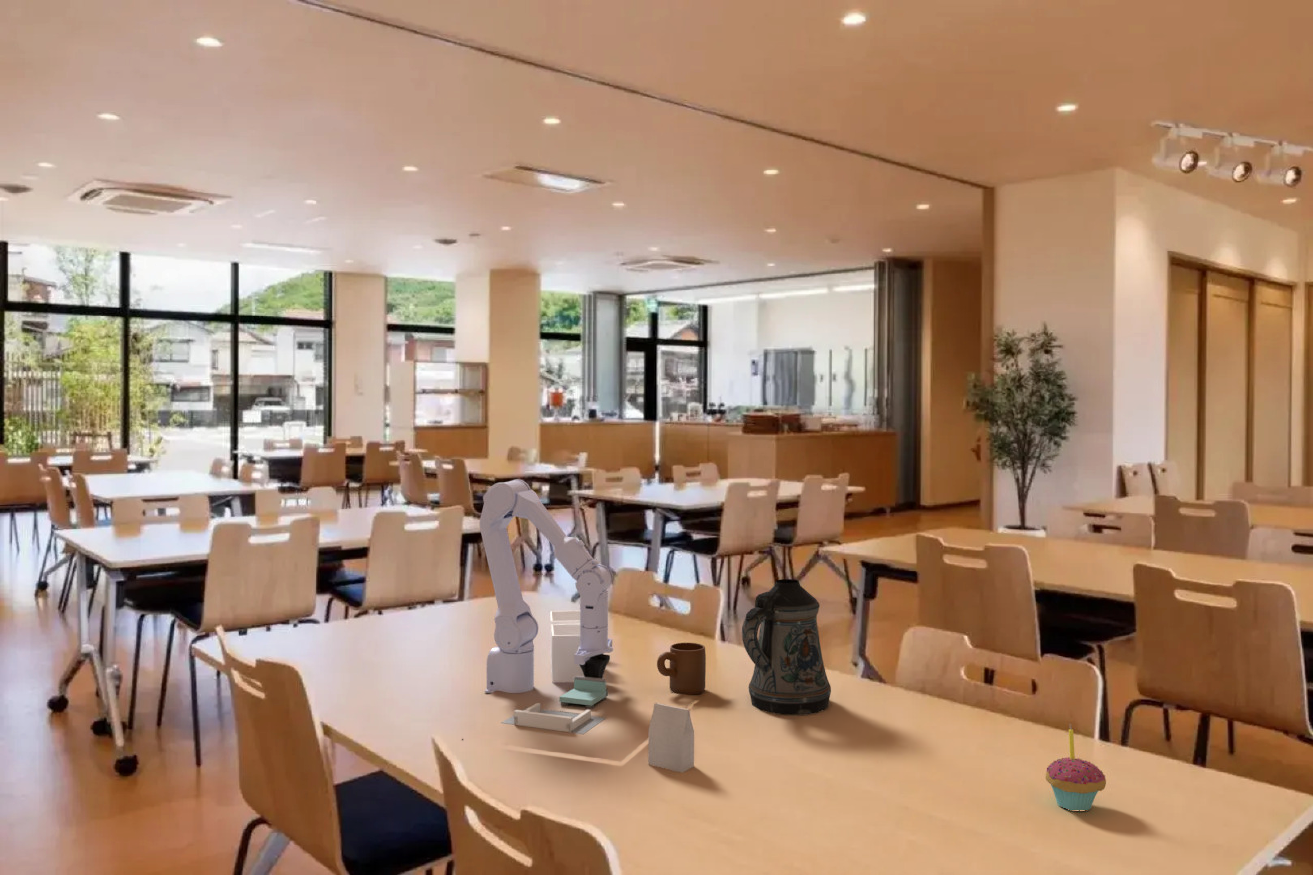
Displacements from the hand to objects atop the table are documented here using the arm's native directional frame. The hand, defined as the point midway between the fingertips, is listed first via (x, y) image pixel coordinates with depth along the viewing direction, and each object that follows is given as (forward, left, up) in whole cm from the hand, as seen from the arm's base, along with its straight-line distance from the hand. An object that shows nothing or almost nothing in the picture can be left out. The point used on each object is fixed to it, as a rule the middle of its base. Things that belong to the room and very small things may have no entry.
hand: (593, 691), depth 209 cm
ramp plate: (0, -10, -1) cm, 10 cm away
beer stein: (+38, +10, -2) cm, 39 cm away
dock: (0, -18, -1) cm, 18 cm away
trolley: (0, -5, -1) cm, 5 cm away
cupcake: (+91, -23, -2) cm, 94 cm away
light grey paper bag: (+28, -30, -2) cm, 41 cm away
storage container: (-13, +18, -2) cm, 23 cm away
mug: (+15, +10, -2) cm, 18 cm away
